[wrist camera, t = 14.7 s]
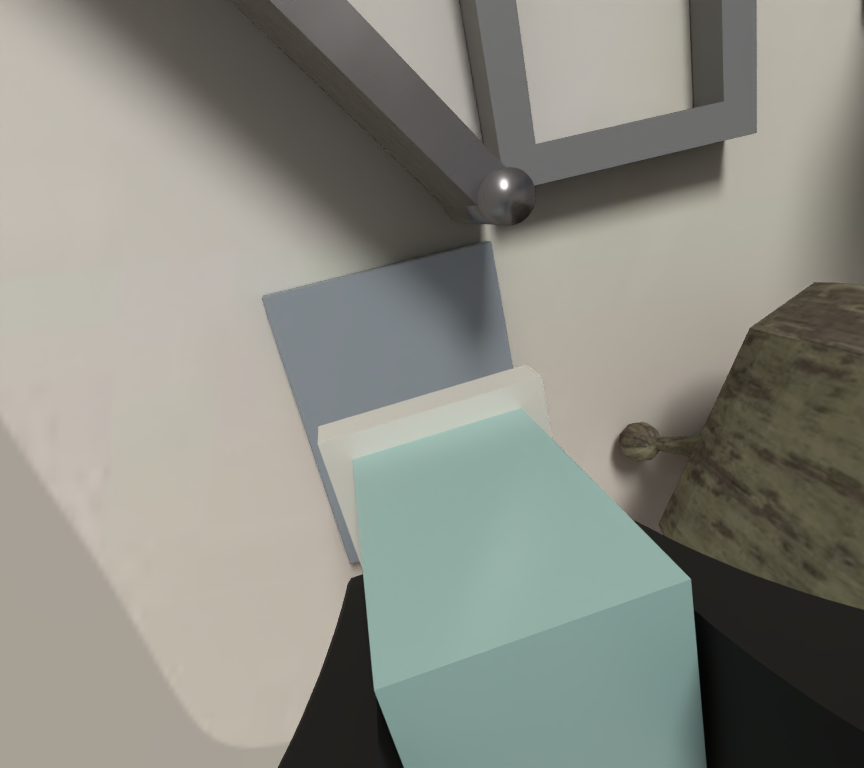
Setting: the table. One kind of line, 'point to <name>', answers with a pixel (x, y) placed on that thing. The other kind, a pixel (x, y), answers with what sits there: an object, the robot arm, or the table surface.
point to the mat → (388, 339)
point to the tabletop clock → (781, 452)
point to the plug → (511, 591)
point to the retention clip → (395, 107)
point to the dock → (549, 161)
